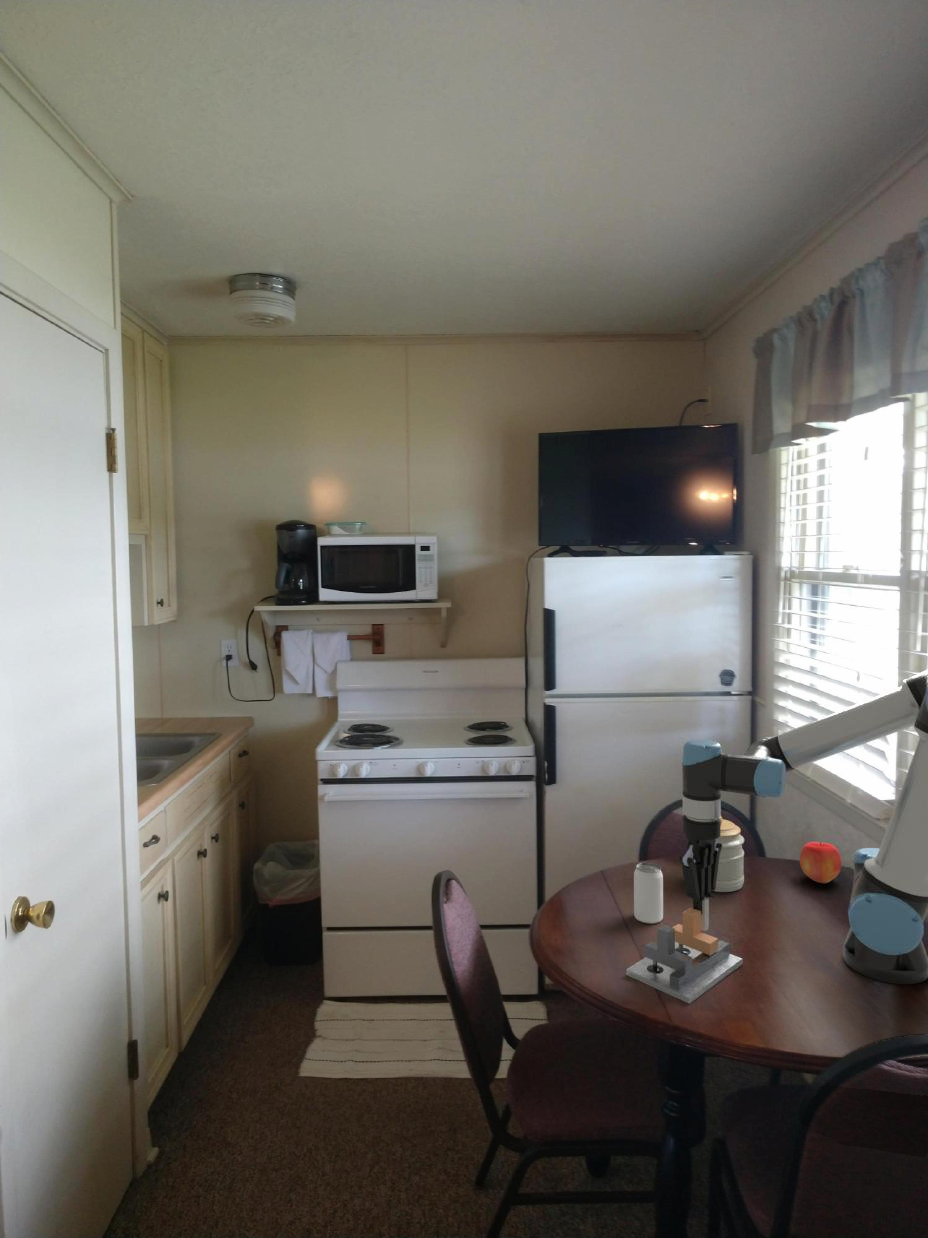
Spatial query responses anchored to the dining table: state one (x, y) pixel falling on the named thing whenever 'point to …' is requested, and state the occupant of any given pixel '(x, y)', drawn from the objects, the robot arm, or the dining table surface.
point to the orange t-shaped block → (694, 933)
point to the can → (648, 893)
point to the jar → (730, 858)
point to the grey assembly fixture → (682, 966)
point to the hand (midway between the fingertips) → (700, 927)
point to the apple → (820, 861)
